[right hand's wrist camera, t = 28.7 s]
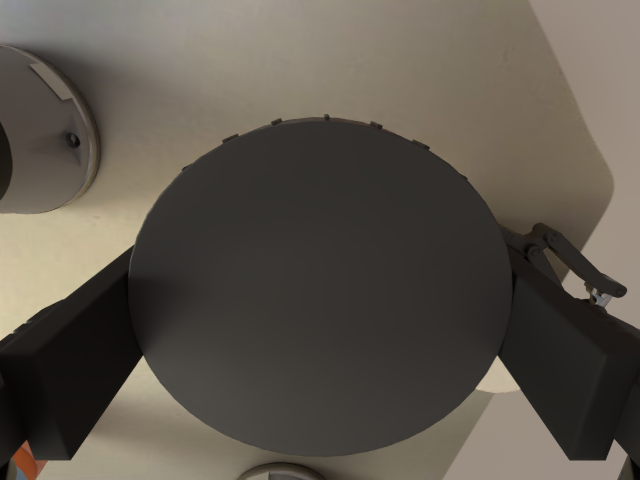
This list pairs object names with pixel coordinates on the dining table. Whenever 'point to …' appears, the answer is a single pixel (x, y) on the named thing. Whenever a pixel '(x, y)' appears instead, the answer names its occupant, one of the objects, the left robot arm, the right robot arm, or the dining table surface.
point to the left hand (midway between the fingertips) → (423, 268)
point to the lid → (320, 287)
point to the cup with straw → (27, 463)
